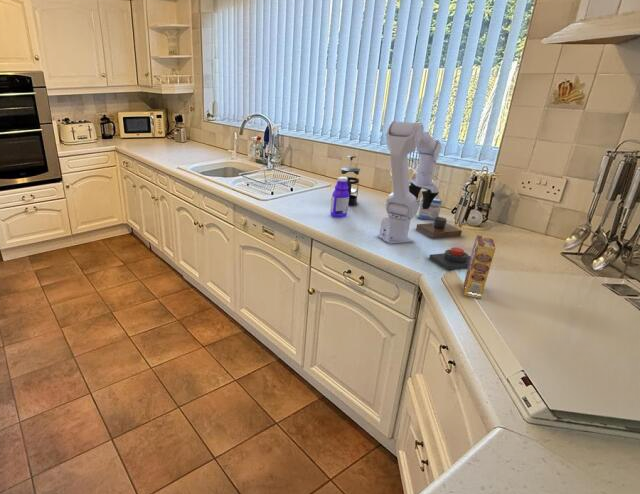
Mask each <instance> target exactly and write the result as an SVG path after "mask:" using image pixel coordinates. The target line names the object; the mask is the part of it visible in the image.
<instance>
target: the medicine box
mask: <svg viewBox="0 0 640 494" xmlns="http://www.w3.org/2000/svg"><path fill="white" fill-rule="evenodd" d="M419 198H420V200H419V203H418V211H417V214H416V215H417V219H420V220H428V221H429V220H430V221H434V220H435V217H437V216H438V217H440V211H441V208H442V203H443V201H442V198H437V197H435V198H434V199H433V201H432V203H431V205H430V207H429V209H423V196H421V197H419Z"/></svg>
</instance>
